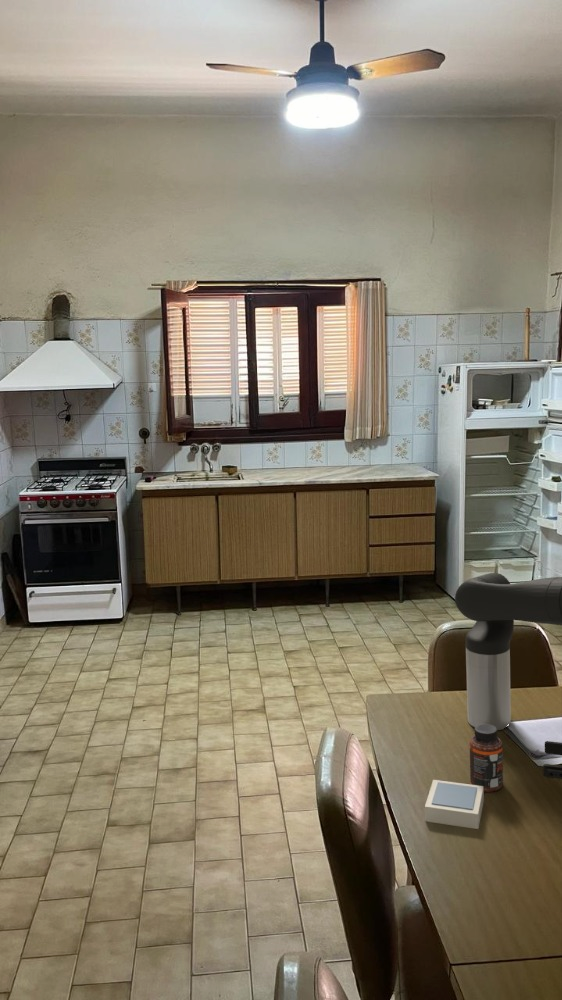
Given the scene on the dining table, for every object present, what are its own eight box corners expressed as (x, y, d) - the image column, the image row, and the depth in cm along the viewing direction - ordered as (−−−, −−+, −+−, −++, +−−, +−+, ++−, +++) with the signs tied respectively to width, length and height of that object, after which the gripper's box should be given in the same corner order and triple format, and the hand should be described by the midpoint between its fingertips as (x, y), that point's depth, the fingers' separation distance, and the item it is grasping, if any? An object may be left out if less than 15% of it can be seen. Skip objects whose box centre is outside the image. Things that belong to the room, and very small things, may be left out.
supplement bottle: (504, 794, 137) (503, 736, 136) (471, 792, 139) (469, 735, 137) (501, 777, 143) (500, 721, 141) (469, 775, 144) (468, 720, 143)
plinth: (433, 793, 139) (433, 778, 139) (483, 800, 136) (483, 785, 135) (425, 821, 131) (424, 805, 130) (478, 829, 128) (477, 813, 127)
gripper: (639, 730, 136) (544, 721, 142) (646, 770, 123) (542, 758, 129) (638, 768, 137) (545, 758, 143) (646, 811, 124) (542, 798, 130)
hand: (543, 758), depth 136 cm, fingers open, 8 cm apart
